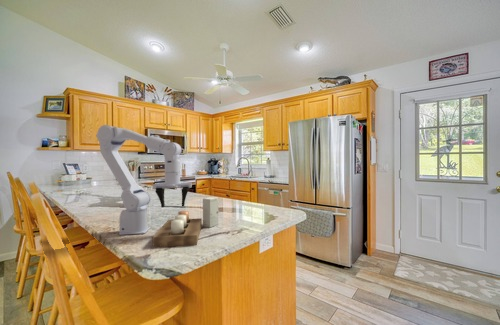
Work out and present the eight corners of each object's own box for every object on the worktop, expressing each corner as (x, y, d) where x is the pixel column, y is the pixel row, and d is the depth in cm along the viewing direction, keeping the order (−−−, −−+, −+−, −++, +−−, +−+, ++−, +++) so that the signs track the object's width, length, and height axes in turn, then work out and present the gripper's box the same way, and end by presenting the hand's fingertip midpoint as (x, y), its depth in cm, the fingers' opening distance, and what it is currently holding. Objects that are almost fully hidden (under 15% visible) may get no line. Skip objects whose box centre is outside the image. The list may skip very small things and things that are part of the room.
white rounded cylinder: (169, 234, 74) (169, 222, 74) (172, 230, 78) (172, 219, 78) (182, 233, 74) (182, 222, 74) (184, 229, 78) (184, 219, 78)
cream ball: (174, 228, 80) (173, 217, 80) (176, 224, 85) (176, 214, 85) (185, 227, 81) (185, 217, 81) (187, 224, 85) (187, 214, 85)
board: (153, 247, 71) (153, 237, 71) (168, 227, 93) (168, 219, 93) (196, 244, 73) (196, 235, 73) (201, 225, 95) (201, 218, 95)
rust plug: (177, 222, 87) (177, 213, 87) (179, 220, 92) (179, 210, 92) (188, 222, 88) (188, 212, 88) (189, 219, 92) (189, 210, 92)
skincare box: (210, 227, 92) (210, 199, 92) (202, 226, 94) (202, 198, 94) (219, 224, 97) (219, 197, 97) (211, 222, 99) (211, 196, 99)
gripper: (150, 173, 81) (151, 209, 81) (190, 172, 84) (191, 207, 84) (155, 172, 88) (155, 205, 88) (191, 171, 91) (192, 203, 91)
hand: (173, 206), depth 86 cm, fingers open, 7 cm apart
